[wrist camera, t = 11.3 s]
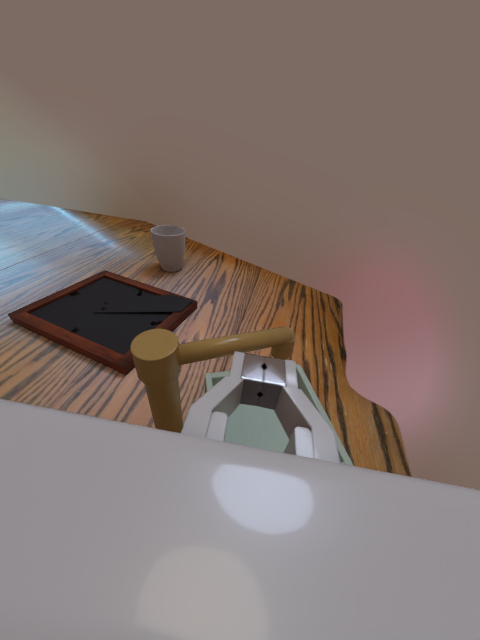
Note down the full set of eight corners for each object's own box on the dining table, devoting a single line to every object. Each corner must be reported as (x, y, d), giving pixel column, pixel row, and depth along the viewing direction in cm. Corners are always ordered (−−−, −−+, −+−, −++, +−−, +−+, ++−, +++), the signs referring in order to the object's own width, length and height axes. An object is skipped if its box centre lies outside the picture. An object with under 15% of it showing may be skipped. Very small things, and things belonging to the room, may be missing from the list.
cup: (190, 264, 65) (189, 228, 59) (180, 276, 59) (178, 237, 52) (163, 259, 65) (159, 223, 59) (150, 271, 59) (144, 232, 53)
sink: (292, 383, 36) (299, 363, 33) (338, 484, 25) (355, 468, 23) (204, 394, 33) (204, 373, 30) (217, 514, 22) (219, 500, 19)
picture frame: (197, 307, 49) (106, 276, 55) (197, 300, 47) (104, 269, 54) (126, 374, 34) (12, 322, 40) (123, 366, 32) (6, 312, 39)
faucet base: (203, 446, 27) (203, 369, 18) (170, 482, 24) (152, 411, 15) (176, 420, 29) (165, 341, 21) (143, 451, 26) (113, 372, 17)
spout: (140, 400, 17) (130, 364, 14) (139, 367, 19) (130, 332, 17) (296, 363, 21) (308, 331, 19) (280, 340, 24) (289, 309, 21)
